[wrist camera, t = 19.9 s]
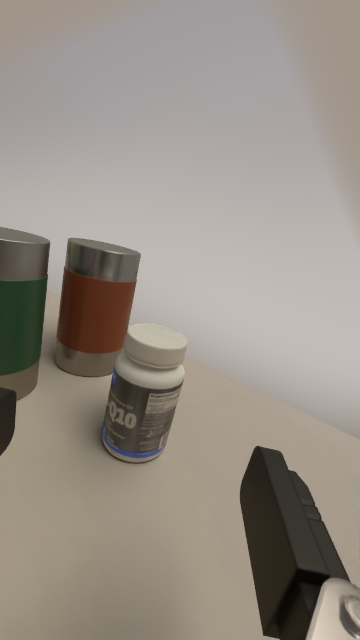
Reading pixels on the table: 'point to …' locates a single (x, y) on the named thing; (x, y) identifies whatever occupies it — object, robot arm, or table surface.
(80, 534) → the table surface
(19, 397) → the can green
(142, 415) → the pill bottle
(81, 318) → the can rust
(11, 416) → the robot arm
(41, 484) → the table surface
